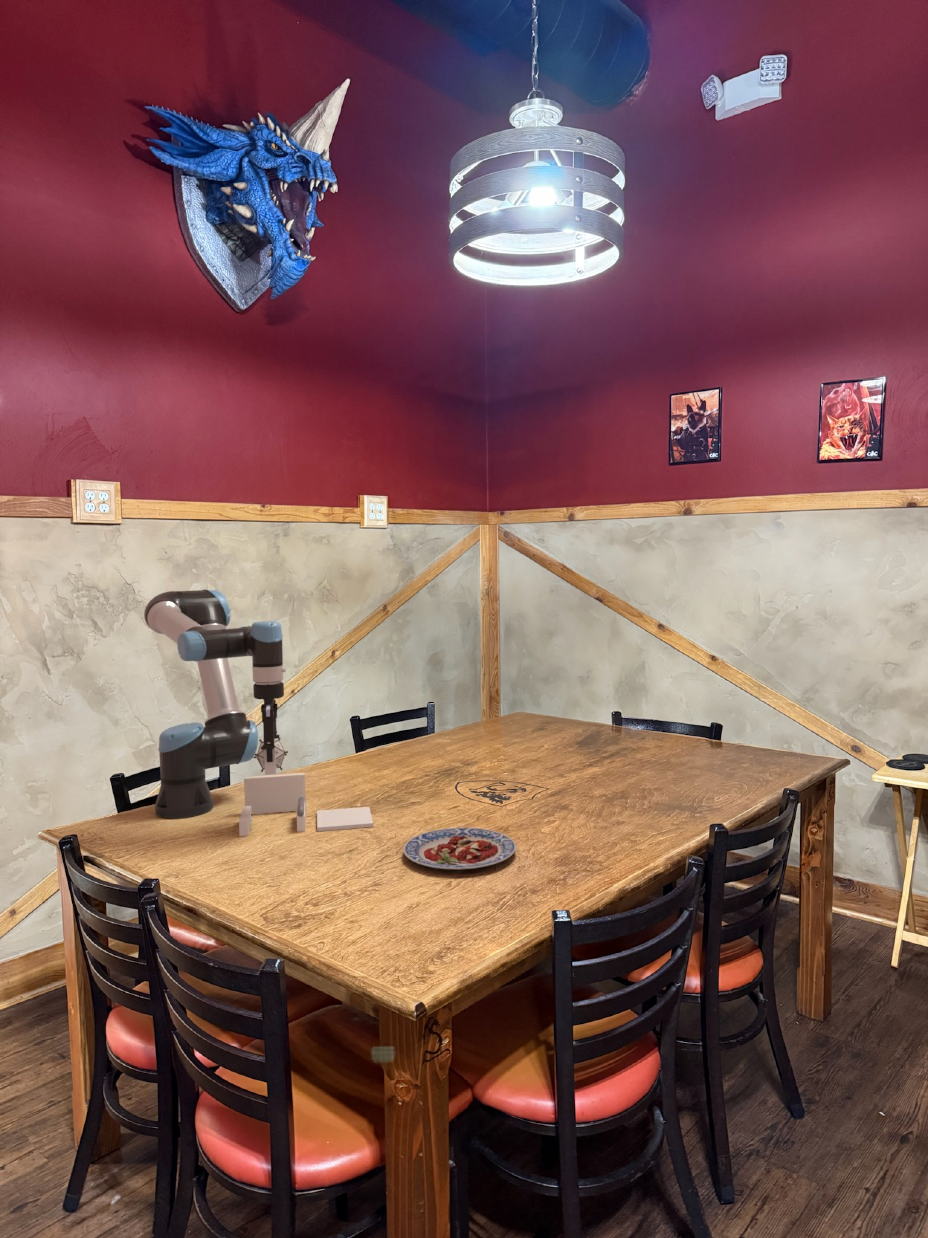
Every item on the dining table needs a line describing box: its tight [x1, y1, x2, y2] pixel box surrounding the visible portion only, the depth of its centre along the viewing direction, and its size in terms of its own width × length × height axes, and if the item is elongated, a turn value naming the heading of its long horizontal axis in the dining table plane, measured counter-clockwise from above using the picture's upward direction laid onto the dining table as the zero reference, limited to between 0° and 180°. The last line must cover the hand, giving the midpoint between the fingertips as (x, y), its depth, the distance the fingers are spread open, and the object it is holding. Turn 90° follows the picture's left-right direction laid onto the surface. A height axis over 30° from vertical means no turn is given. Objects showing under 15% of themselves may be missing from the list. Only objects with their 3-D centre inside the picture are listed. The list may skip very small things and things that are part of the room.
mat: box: [316, 806, 374, 832], centre depth 206 cm, size 14×14×1 cm
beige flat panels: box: [238, 772, 307, 837], centre depth 206 cm, size 16×19×10 cm
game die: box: [252, 737, 289, 773], centre depth 202 cm, size 9×8×10 cm
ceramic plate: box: [402, 827, 517, 870], centre depth 181 cm, size 26×26×3 cm
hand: (271, 769), depth 202 cm, fingers closed on game die, 9 cm apart
